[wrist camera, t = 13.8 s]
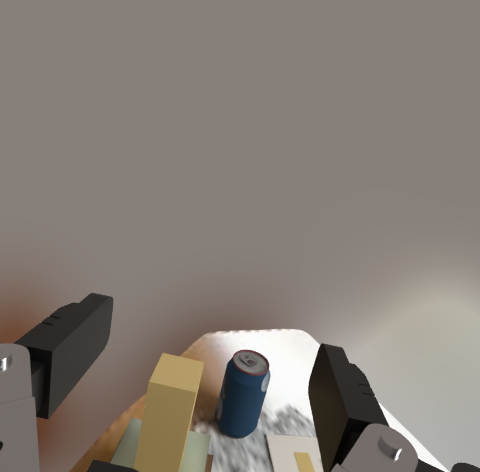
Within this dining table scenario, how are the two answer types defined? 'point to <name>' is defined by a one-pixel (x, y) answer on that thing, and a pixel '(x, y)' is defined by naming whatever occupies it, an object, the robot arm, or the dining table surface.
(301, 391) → the dining table surface
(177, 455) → the tall brick
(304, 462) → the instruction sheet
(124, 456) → the tower base
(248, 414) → the soda can
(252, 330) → the dining table surface
